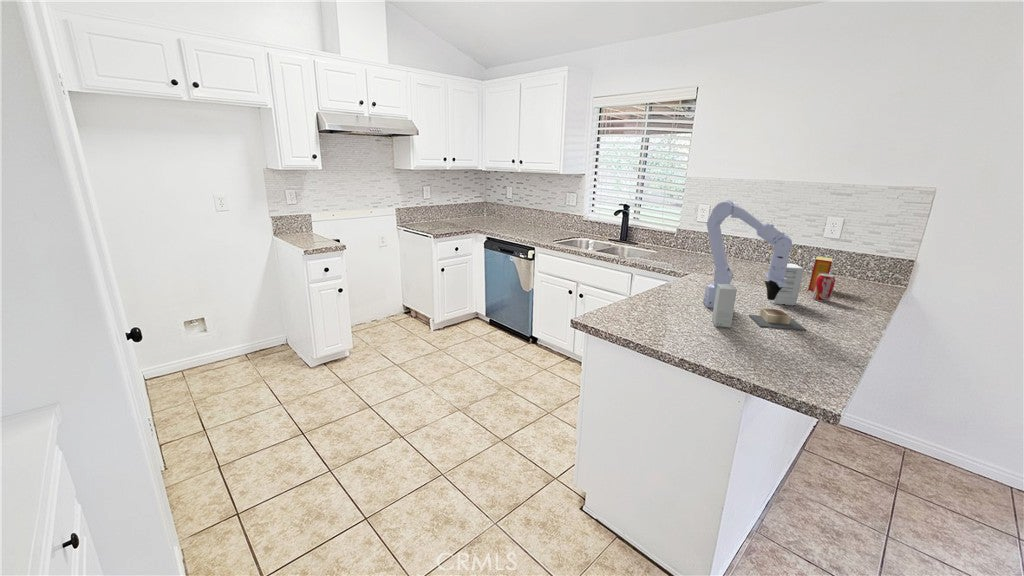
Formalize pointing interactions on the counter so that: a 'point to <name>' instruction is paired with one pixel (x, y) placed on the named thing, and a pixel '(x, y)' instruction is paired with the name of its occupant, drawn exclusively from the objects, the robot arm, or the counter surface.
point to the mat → (763, 323)
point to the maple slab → (775, 315)
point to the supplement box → (790, 286)
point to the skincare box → (724, 305)
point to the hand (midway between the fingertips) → (770, 299)
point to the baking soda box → (820, 269)
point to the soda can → (823, 287)
